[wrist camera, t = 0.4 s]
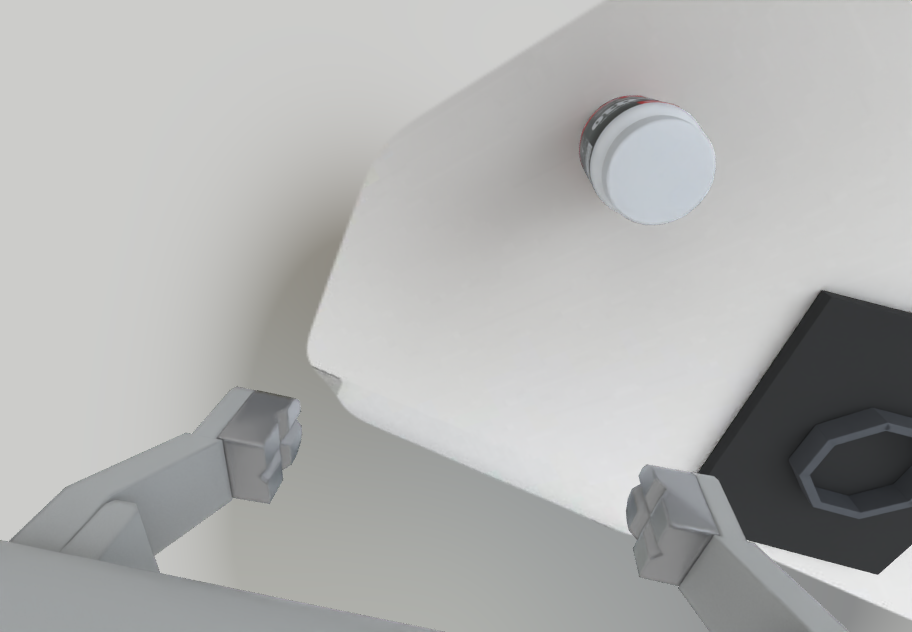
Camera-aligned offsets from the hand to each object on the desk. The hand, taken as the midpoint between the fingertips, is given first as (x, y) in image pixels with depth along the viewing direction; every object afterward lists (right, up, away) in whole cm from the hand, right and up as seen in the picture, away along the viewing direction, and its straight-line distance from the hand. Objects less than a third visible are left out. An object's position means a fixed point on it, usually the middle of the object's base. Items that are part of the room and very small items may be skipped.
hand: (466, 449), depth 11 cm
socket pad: (+27, -6, +21) cm, 35 cm away
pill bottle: (+9, +13, +14) cm, 21 cm away
